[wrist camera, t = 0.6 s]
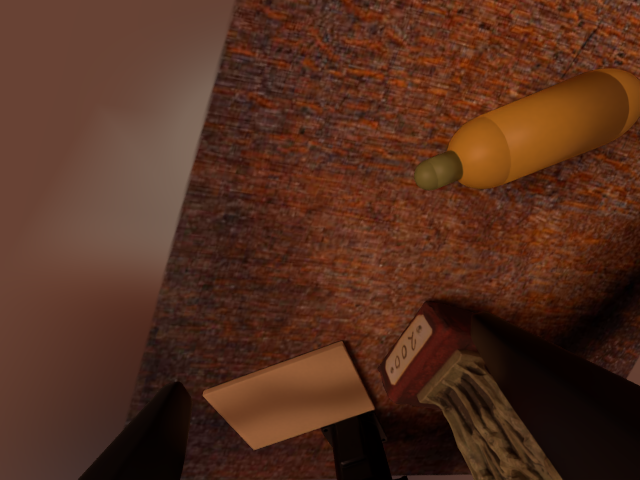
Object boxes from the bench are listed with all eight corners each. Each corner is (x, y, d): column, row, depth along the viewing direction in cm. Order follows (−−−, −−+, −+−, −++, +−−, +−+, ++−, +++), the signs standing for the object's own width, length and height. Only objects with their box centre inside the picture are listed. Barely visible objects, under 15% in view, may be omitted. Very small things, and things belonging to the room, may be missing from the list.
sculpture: (420, 292, 25) (569, 505, 12) (489, 313, 27) (685, 516, 14) (373, 365, 29) (444, 592, 15) (436, 379, 31) (550, 591, 17)
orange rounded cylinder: (409, 200, 21) (438, 223, 17) (395, 142, 19) (423, 152, 15) (588, 130, 20) (664, 137, 16) (592, 60, 18) (681, 47, 14)
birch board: (373, 404, 32) (375, 409, 31) (254, 444, 33) (253, 450, 32) (342, 340, 27) (343, 345, 26) (204, 390, 28) (202, 395, 28)
